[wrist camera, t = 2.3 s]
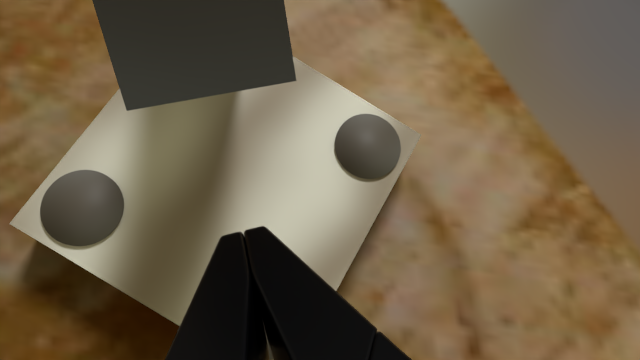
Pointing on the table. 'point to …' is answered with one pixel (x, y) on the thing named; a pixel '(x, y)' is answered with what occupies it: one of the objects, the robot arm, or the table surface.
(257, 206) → the stool seat
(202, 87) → the folding leg
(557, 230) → the table surface
